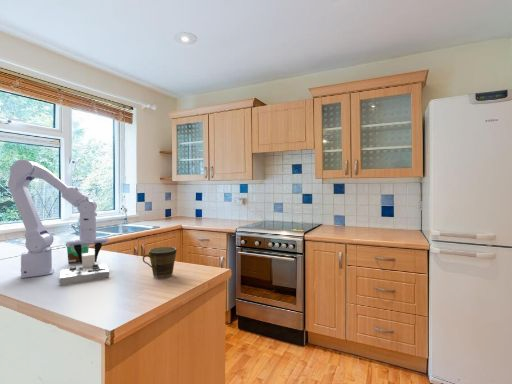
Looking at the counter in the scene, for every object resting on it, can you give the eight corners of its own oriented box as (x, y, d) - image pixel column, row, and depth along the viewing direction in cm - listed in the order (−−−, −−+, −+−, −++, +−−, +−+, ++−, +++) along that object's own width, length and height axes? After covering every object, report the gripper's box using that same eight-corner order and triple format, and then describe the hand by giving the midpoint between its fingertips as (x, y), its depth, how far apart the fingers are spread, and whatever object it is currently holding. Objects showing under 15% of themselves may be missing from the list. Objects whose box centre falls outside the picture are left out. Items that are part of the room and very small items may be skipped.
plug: (82, 272, 113) (82, 256, 113) (82, 268, 118) (81, 253, 118) (95, 270, 115) (94, 254, 115) (94, 267, 120) (94, 252, 120)
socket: (59, 285, 97) (59, 276, 97) (61, 276, 107) (61, 268, 107) (109, 278, 105) (108, 269, 105) (106, 270, 115) (106, 262, 115)
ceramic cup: (167, 270, 114) (166, 245, 114) (182, 275, 108) (182, 249, 108) (136, 278, 104) (135, 251, 104) (150, 284, 98) (150, 255, 98)
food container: (80, 264, 124) (79, 241, 124) (66, 264, 125) (65, 241, 124) (96, 257, 137) (96, 236, 137) (83, 257, 137) (83, 236, 137)
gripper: (66, 231, 109) (66, 267, 109) (108, 228, 117) (109, 262, 117) (66, 229, 115) (67, 263, 115) (107, 226, 123) (107, 258, 123)
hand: (88, 262), depth 116 cm, fingers closed on plug, 4 cm apart
